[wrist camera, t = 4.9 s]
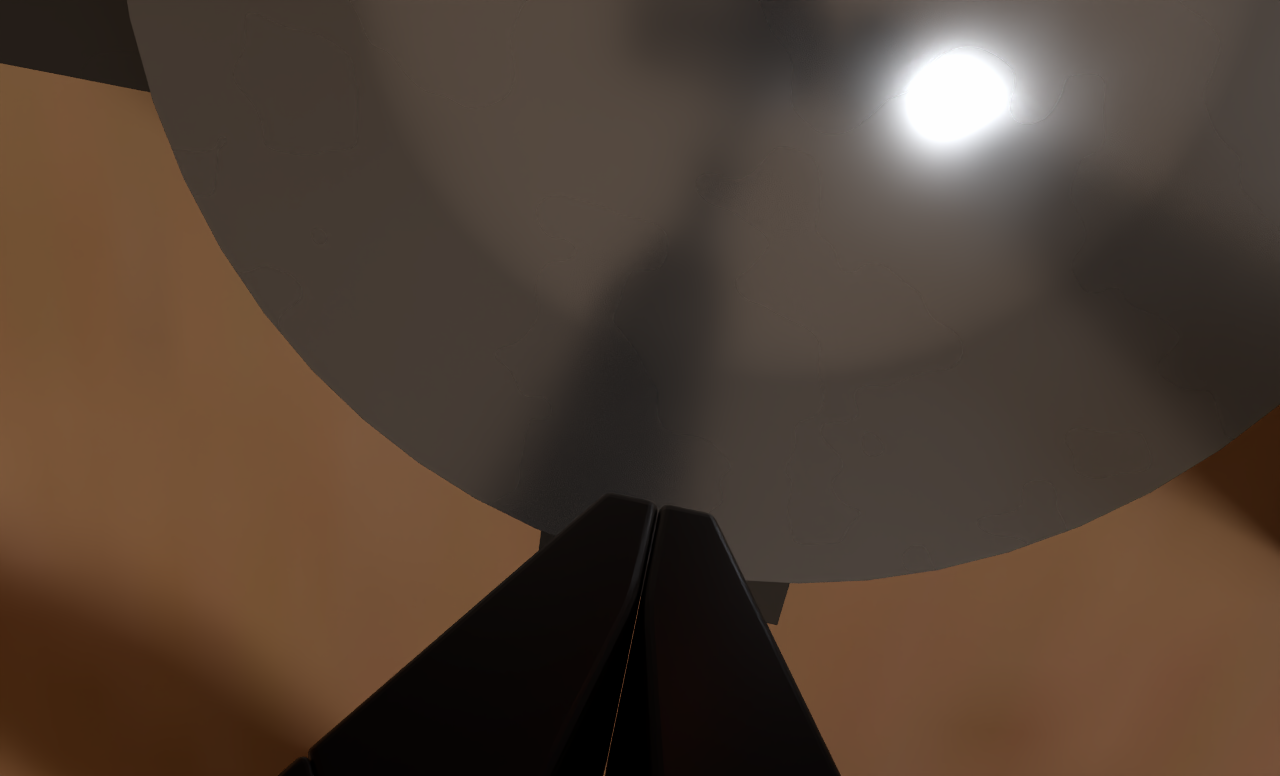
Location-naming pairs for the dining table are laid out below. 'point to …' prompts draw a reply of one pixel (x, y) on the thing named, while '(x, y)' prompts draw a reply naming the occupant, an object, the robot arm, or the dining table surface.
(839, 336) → the lid
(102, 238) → the dining table surface
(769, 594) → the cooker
